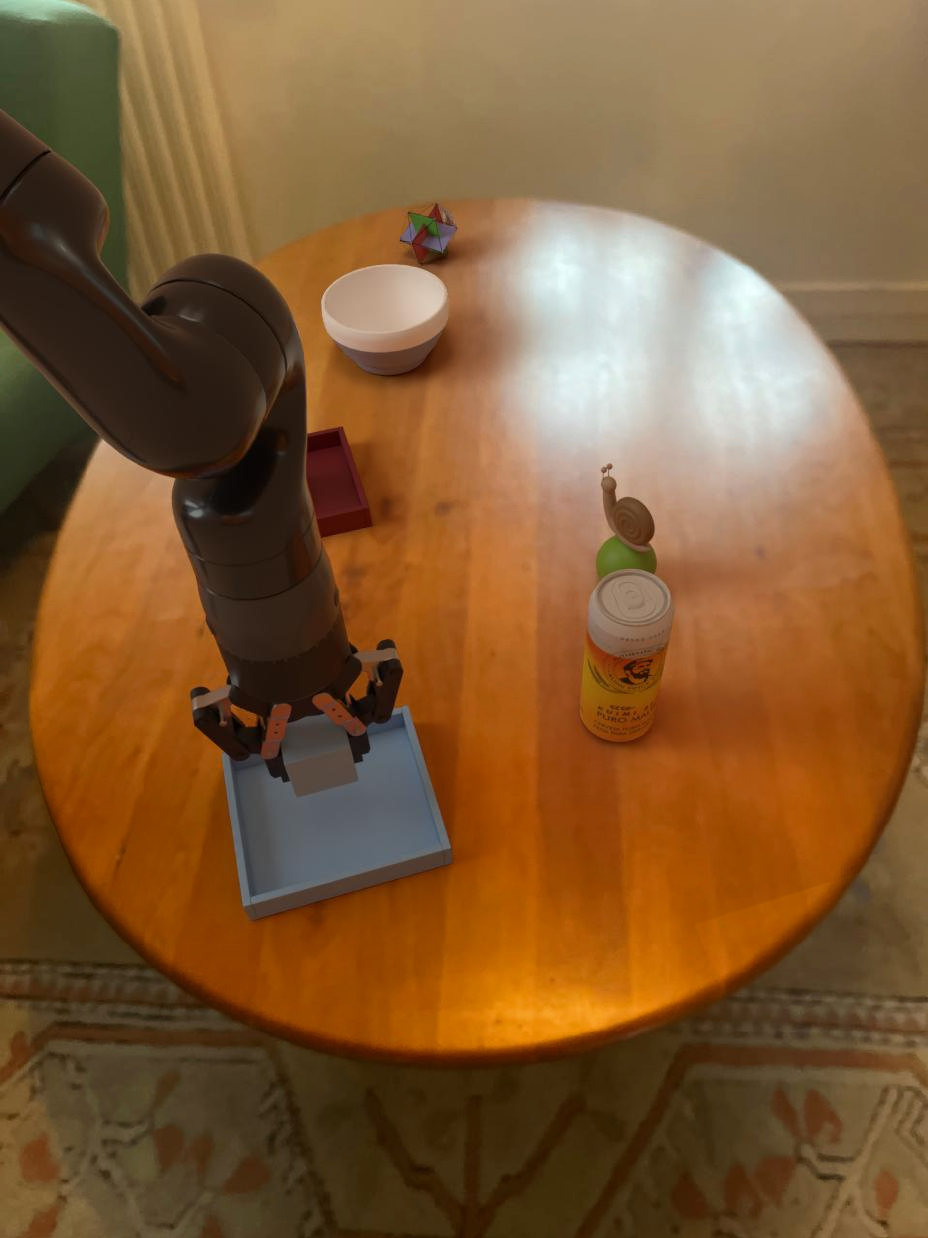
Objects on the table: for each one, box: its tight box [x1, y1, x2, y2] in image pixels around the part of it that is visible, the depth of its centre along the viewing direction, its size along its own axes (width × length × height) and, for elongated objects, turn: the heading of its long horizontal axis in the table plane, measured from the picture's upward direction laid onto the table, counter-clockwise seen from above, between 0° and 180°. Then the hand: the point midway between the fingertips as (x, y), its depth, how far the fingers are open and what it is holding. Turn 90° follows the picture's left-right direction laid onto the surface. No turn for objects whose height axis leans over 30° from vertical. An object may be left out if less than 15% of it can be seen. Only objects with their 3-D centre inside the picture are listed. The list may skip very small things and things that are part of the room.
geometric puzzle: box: [398, 202, 459, 266], centre depth 124 cm, size 7×7×8 cm
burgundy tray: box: [306, 425, 373, 538], centre depth 96 cm, size 15×13×2 cm
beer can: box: [578, 569, 676, 743], centre depth 73 cm, size 6×6×15 cm
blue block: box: [280, 714, 359, 798], centre depth 67 cm, size 4×4×4 cm
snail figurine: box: [595, 462, 658, 581], centre depth 84 cm, size 5×6×12 cm
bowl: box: [320, 263, 450, 376], centre depth 110 cm, size 14×14×8 cm
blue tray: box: [221, 704, 454, 921], centre depth 73 cm, size 15×13×2 cm
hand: (320, 761), depth 68 cm, fingers closed on blue block, 4 cm apart
